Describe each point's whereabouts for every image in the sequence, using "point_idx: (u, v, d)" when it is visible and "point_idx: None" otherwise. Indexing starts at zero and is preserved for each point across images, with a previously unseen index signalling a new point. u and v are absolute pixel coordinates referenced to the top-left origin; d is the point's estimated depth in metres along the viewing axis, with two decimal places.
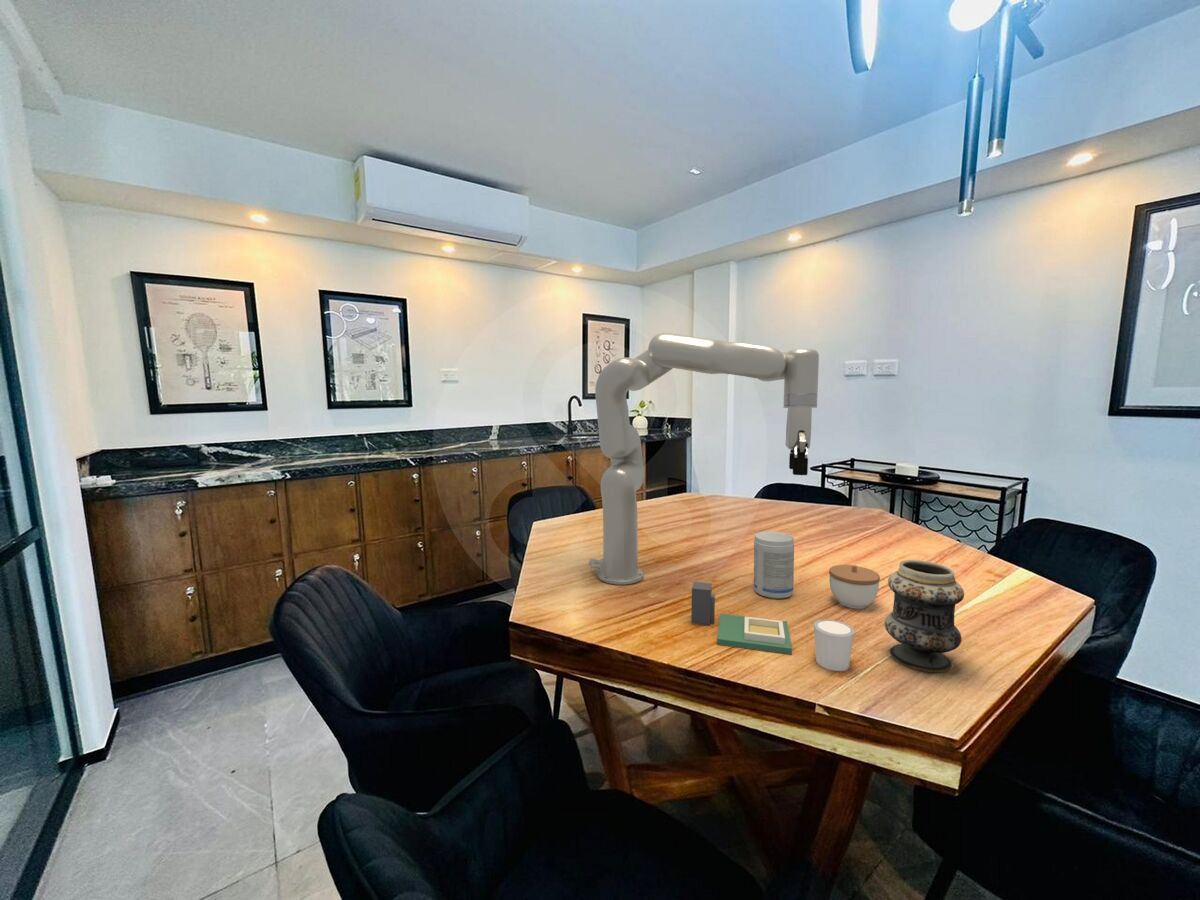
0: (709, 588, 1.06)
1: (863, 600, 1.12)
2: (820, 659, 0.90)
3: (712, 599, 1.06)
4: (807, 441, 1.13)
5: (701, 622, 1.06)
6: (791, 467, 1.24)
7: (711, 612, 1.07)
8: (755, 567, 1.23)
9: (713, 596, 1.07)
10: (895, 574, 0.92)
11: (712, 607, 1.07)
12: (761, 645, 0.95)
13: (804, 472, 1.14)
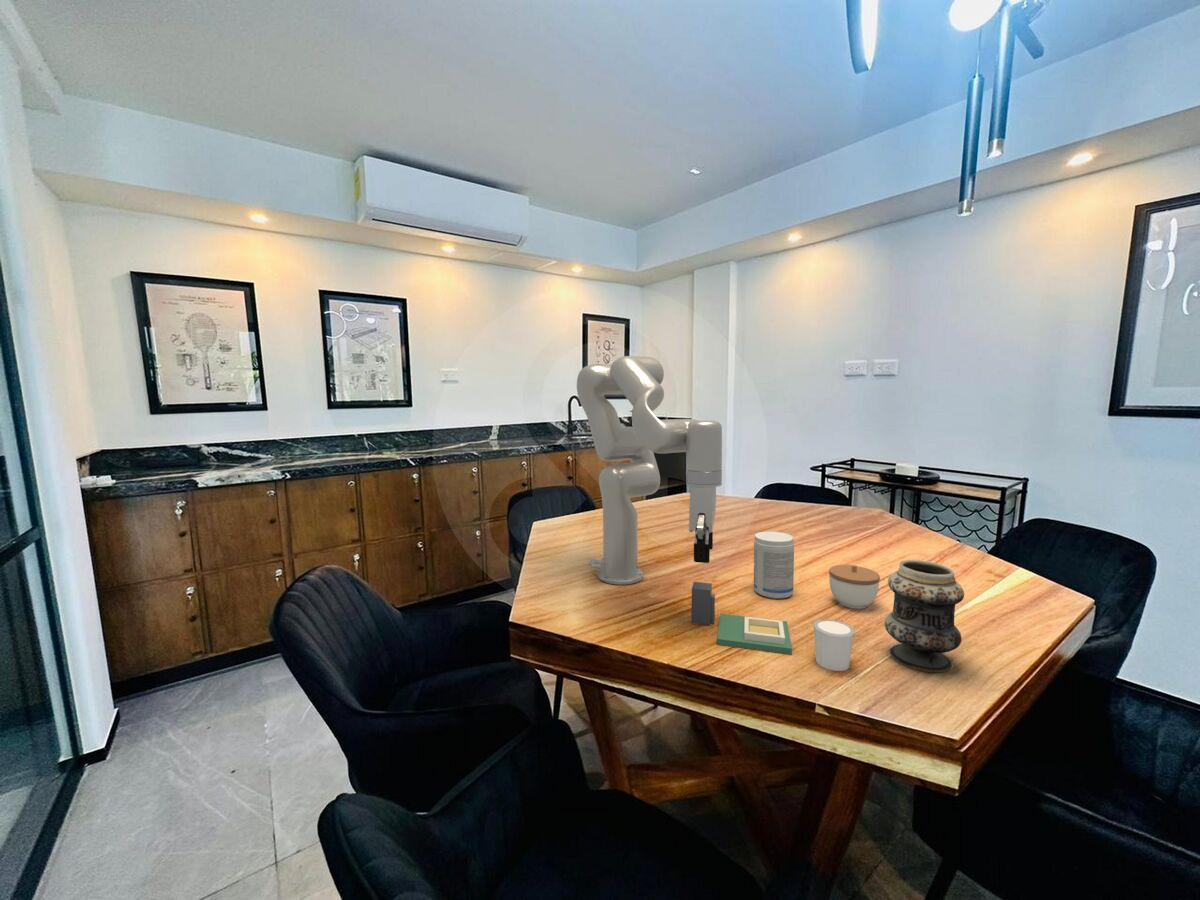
0: (709, 588, 1.06)
1: (863, 600, 1.12)
2: (820, 659, 0.90)
3: (712, 599, 1.06)
4: (708, 525, 1.01)
5: (701, 622, 1.06)
6: None
7: (711, 612, 1.07)
8: (755, 567, 1.23)
9: (713, 596, 1.07)
10: (895, 574, 0.92)
11: (712, 607, 1.07)
12: (761, 645, 0.95)
13: (706, 559, 1.01)
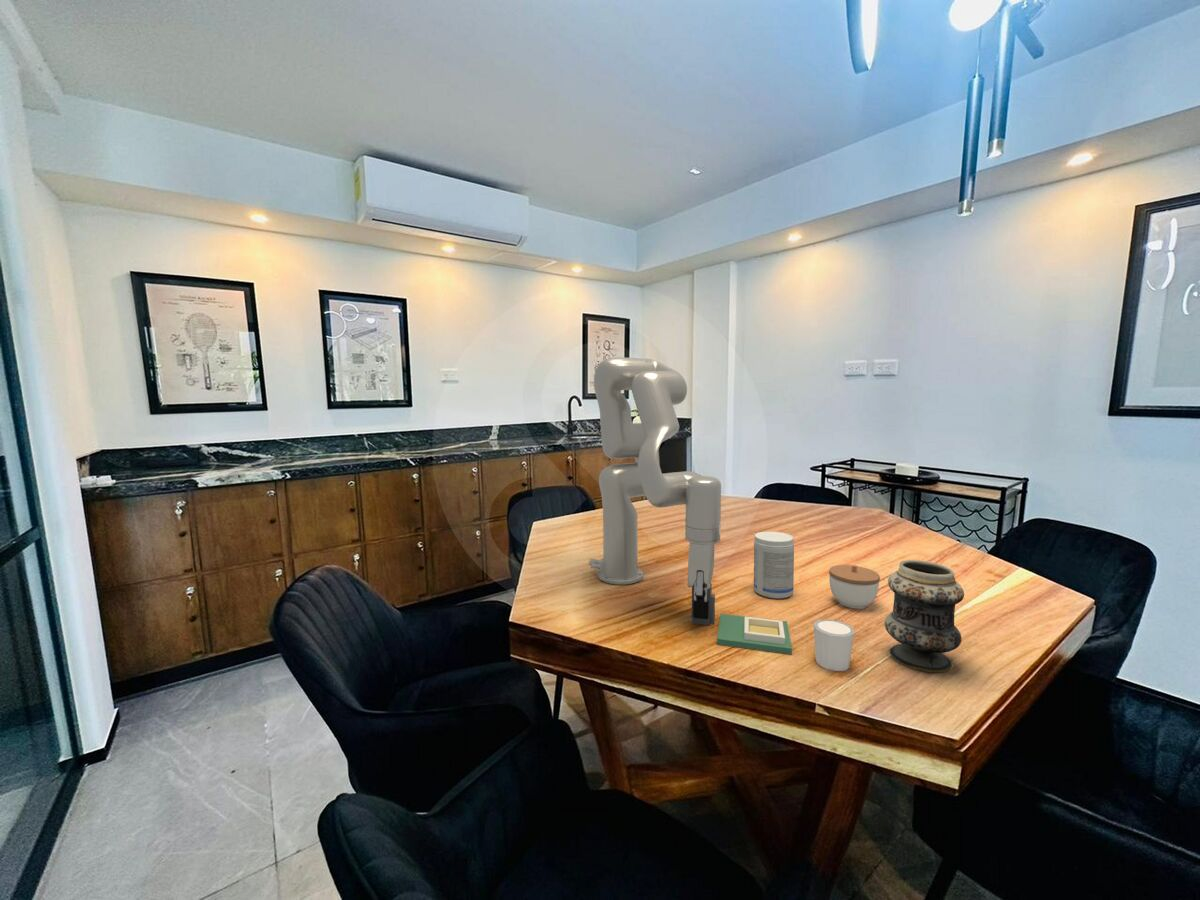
0: (709, 588, 1.06)
1: (863, 600, 1.12)
2: (820, 659, 0.90)
3: (712, 599, 1.06)
4: (706, 587, 1.03)
5: (701, 622, 1.06)
6: None
7: (711, 612, 1.07)
8: (755, 567, 1.23)
9: (713, 596, 1.07)
10: (895, 574, 0.92)
11: (712, 607, 1.06)
12: (761, 645, 0.95)
13: (705, 616, 1.05)
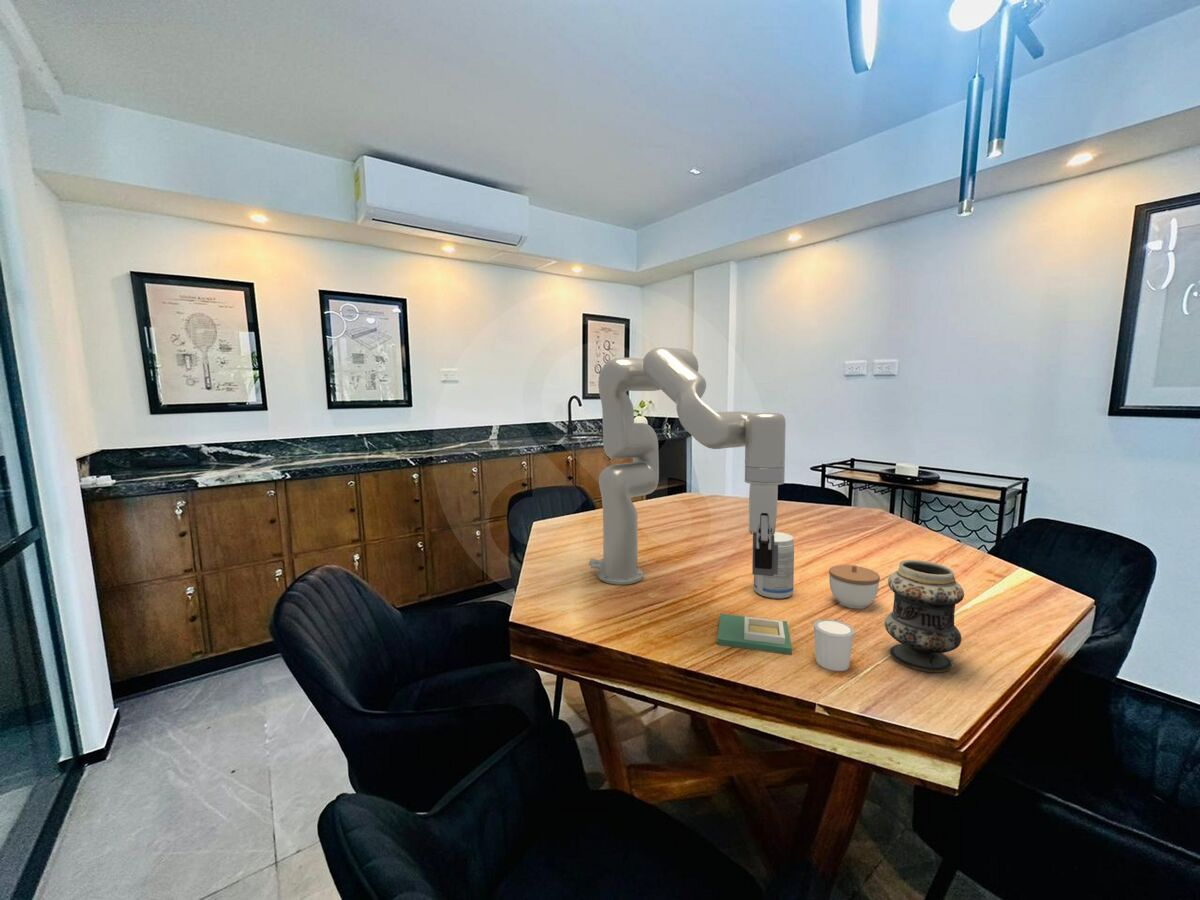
0: (772, 535, 0.96)
1: (863, 600, 1.12)
2: (820, 659, 0.90)
3: (775, 547, 0.97)
4: (771, 532, 0.93)
5: (764, 573, 0.97)
6: None
7: (774, 562, 0.97)
8: None
9: (776, 544, 0.97)
10: (895, 574, 0.92)
11: (775, 556, 0.97)
12: (761, 645, 0.95)
13: (768, 565, 0.96)
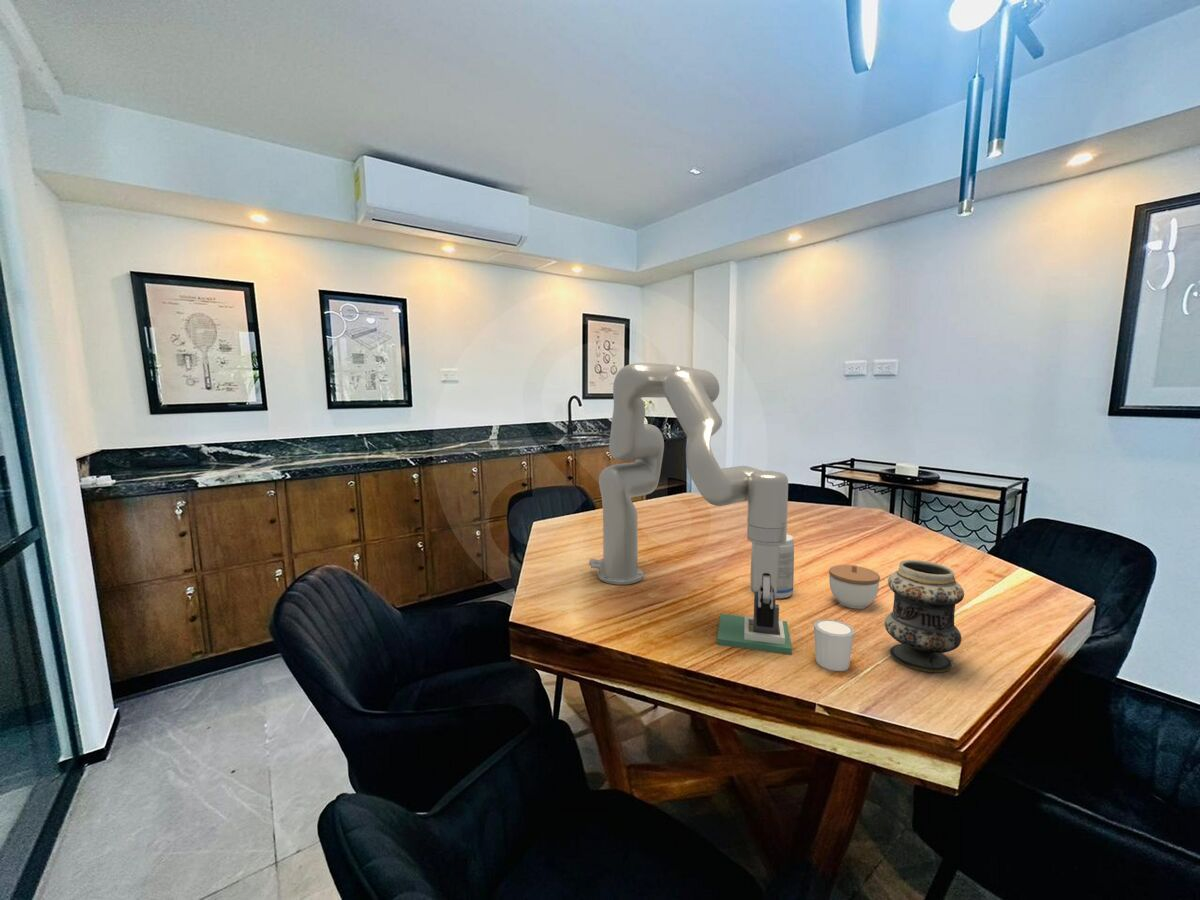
0: (773, 598, 0.97)
1: (863, 600, 1.12)
2: (820, 659, 0.90)
3: (776, 610, 0.98)
4: (773, 590, 0.94)
5: None
6: None
7: (775, 624, 0.98)
8: None
9: (777, 607, 0.98)
10: (895, 574, 0.92)
11: (776, 618, 0.98)
12: (761, 645, 0.95)
13: (769, 624, 0.96)
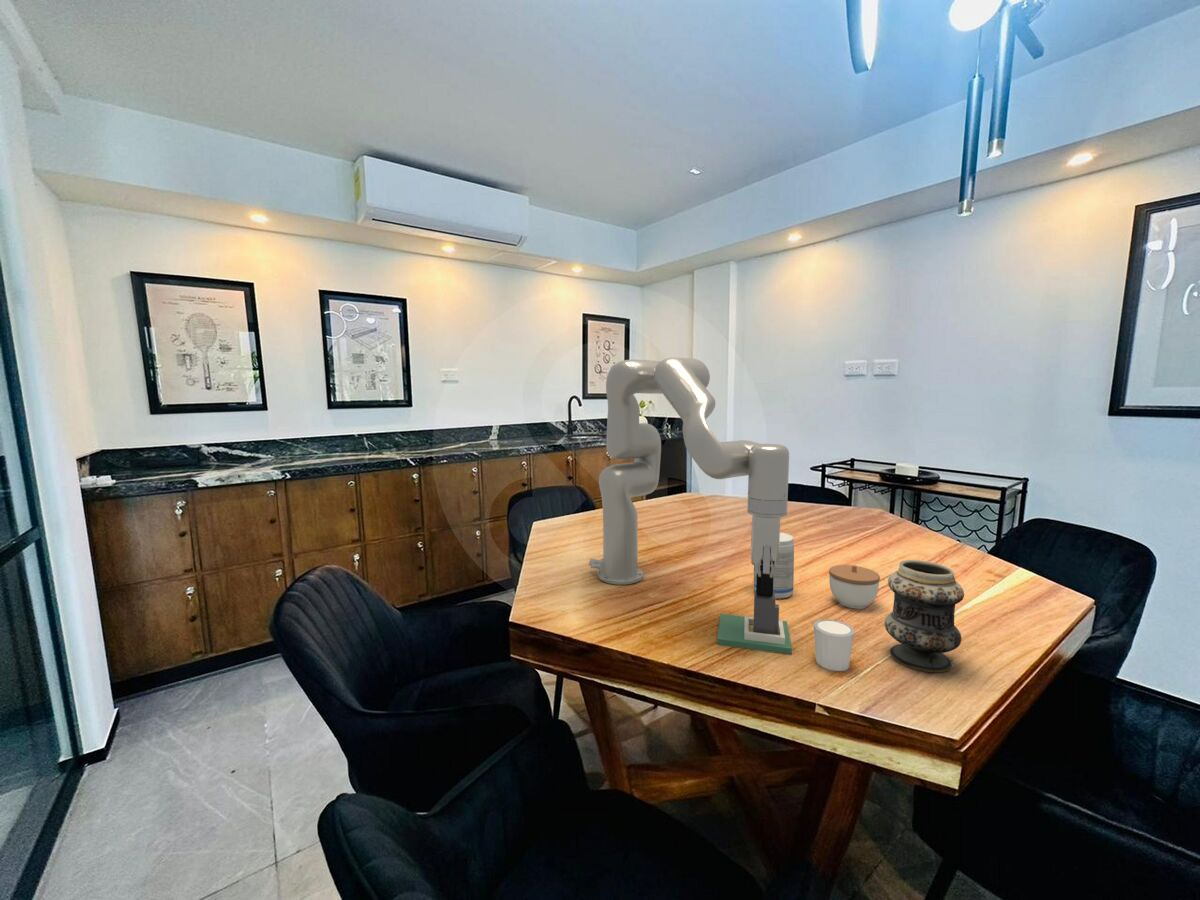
0: (773, 598, 0.97)
1: (863, 600, 1.12)
2: (820, 659, 0.90)
3: (776, 610, 0.98)
4: None
5: None
6: None
7: (775, 624, 0.98)
8: (755, 567, 1.23)
9: (777, 607, 0.98)
10: (895, 574, 0.92)
11: (776, 618, 0.98)
12: (761, 645, 0.95)
13: (769, 593, 0.98)
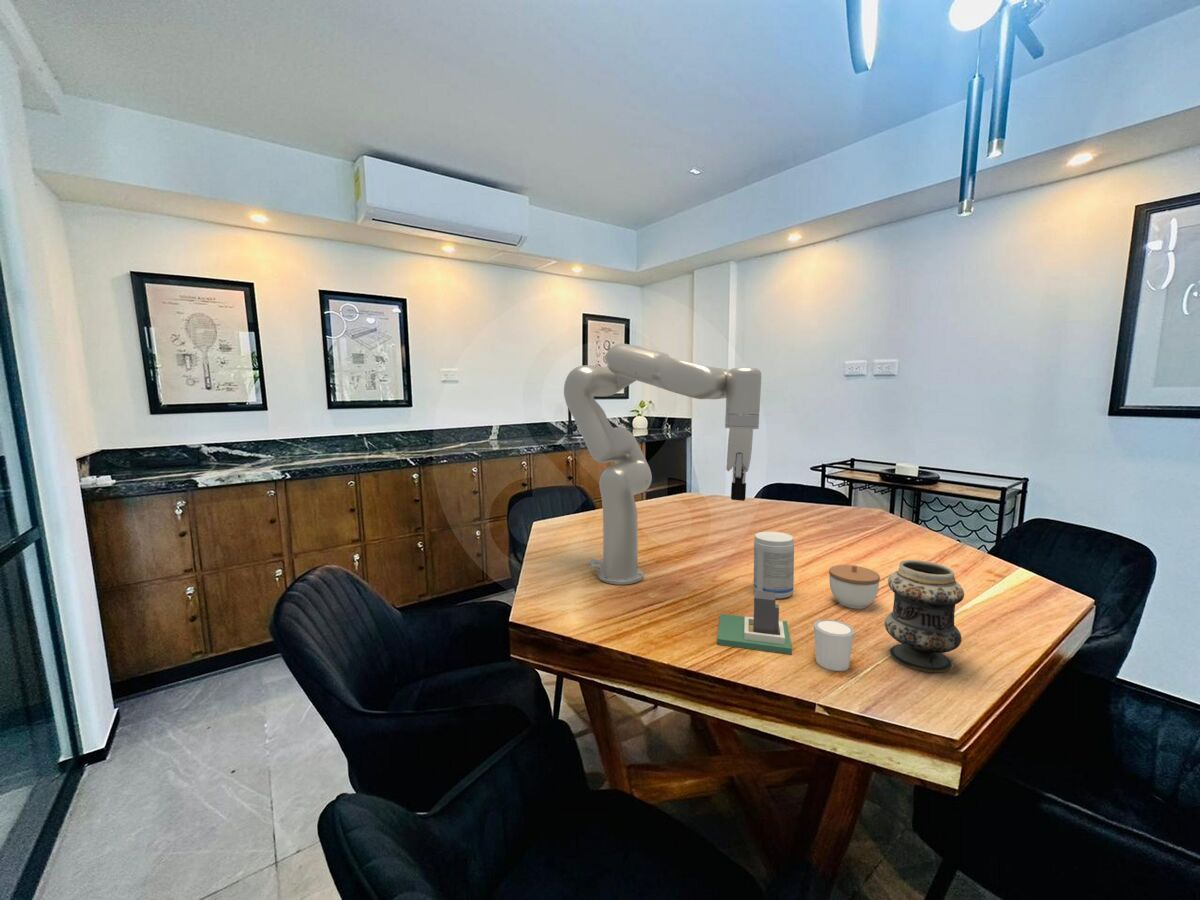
0: (773, 598, 0.97)
1: (863, 600, 1.12)
2: (820, 659, 0.90)
3: (776, 610, 0.98)
4: (745, 472, 1.10)
5: None
6: None
7: (775, 624, 0.98)
8: (755, 567, 1.23)
9: (777, 607, 0.98)
10: (895, 574, 0.92)
11: (776, 618, 0.98)
12: (761, 645, 0.95)
13: (742, 497, 1.14)
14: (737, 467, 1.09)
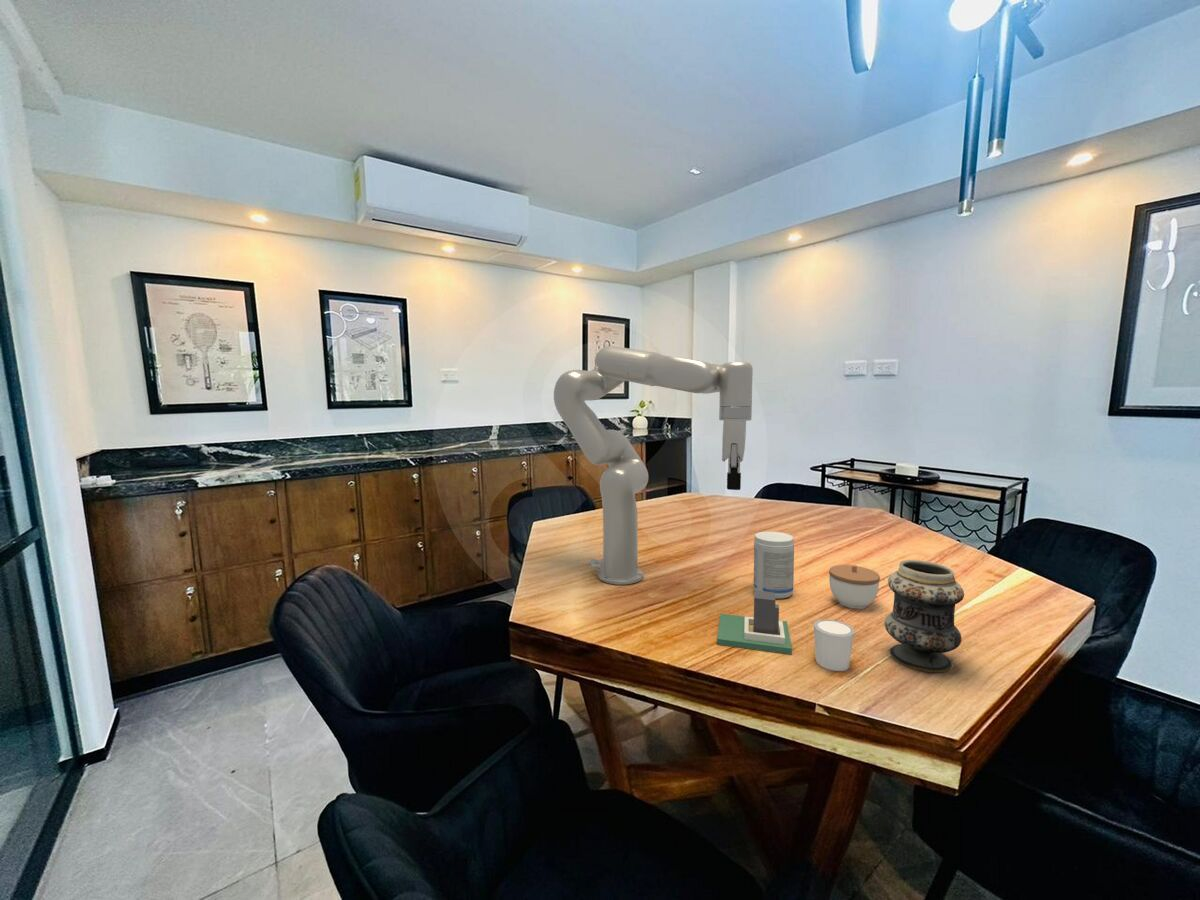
0: (773, 598, 0.97)
1: (863, 600, 1.12)
2: (820, 659, 0.90)
3: (776, 610, 0.98)
4: (740, 461, 1.15)
5: None
6: None
7: (775, 624, 0.98)
8: (755, 567, 1.23)
9: (777, 607, 0.98)
10: (895, 574, 0.92)
11: (776, 618, 0.98)
12: (761, 645, 0.95)
13: (737, 487, 1.18)
14: (732, 457, 1.14)
